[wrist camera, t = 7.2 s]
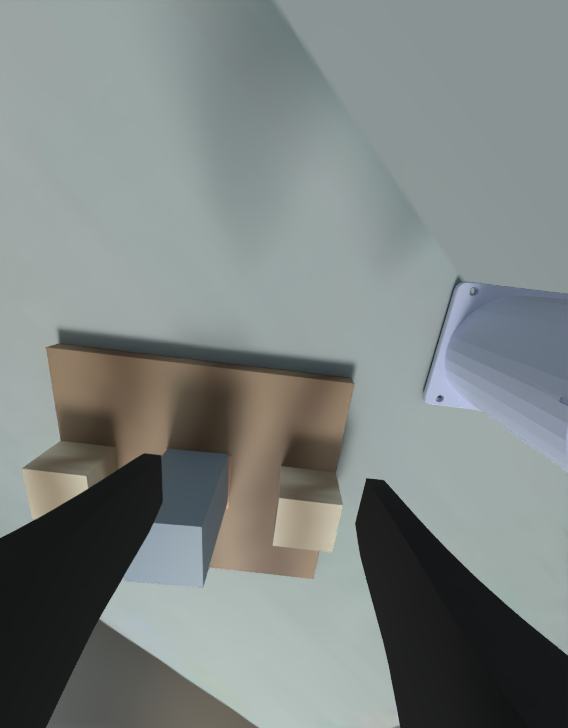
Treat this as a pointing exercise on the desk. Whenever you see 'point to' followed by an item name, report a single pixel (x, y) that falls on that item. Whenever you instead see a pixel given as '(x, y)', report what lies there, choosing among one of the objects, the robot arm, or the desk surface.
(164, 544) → the slate block
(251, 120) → the desk surface
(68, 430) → the wooden board
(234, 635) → the desk surface
